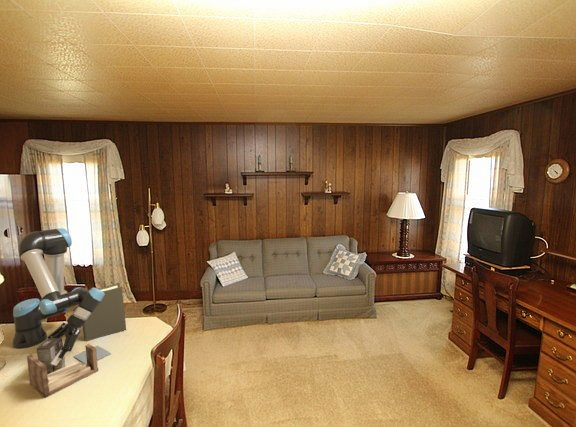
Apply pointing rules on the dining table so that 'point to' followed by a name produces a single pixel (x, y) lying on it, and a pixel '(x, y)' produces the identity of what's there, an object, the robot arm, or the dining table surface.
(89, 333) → the book
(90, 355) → the rack
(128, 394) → the dining table surface
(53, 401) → the dining table surface
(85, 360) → the mat
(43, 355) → the coffee box
